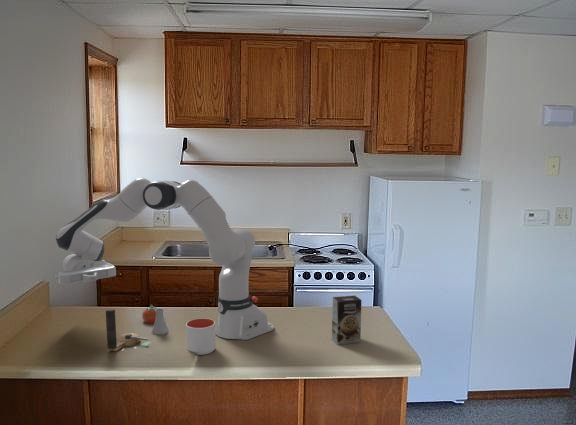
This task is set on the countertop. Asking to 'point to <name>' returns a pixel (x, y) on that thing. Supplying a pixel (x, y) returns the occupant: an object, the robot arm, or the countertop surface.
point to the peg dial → (122, 339)
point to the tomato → (149, 314)
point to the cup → (200, 336)
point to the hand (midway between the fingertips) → (93, 278)
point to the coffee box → (346, 320)
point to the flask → (159, 323)
